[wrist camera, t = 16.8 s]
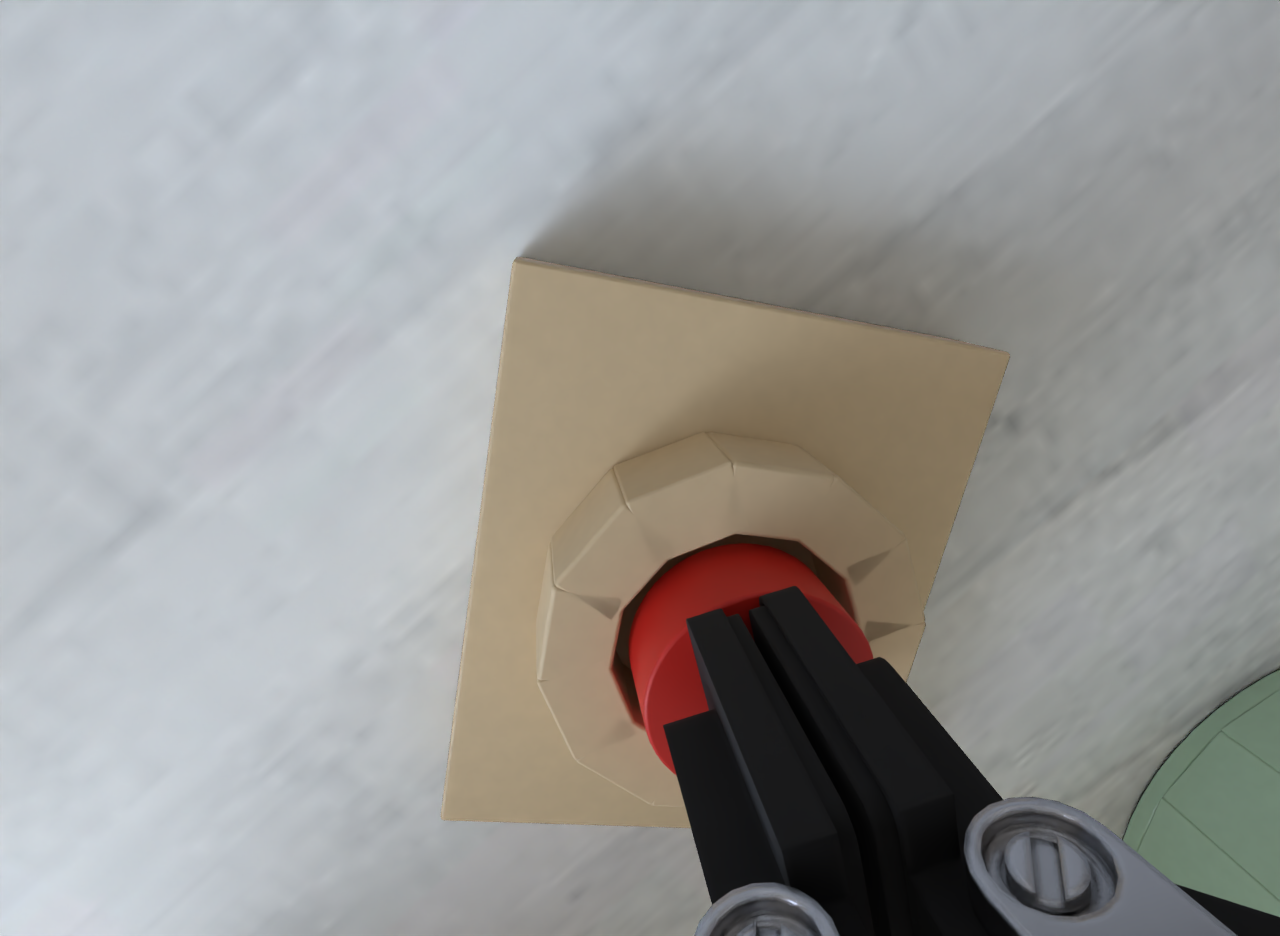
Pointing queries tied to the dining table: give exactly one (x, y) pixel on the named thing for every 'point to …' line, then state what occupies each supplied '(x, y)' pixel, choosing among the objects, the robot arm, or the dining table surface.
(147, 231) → the dining table surface
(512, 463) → the switch block
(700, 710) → the button
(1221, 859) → the mint green cup
